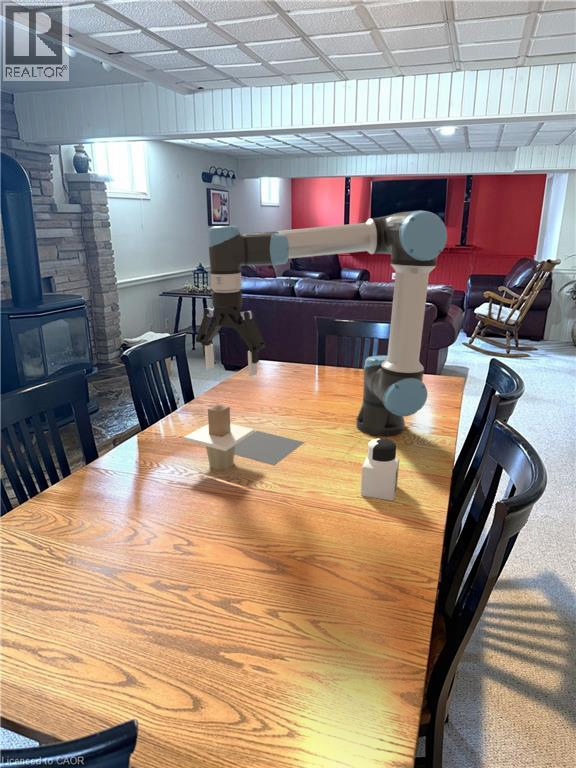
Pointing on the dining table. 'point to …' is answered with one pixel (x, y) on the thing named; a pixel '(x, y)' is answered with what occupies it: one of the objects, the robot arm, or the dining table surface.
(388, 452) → the container
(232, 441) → the lid
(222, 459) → the flower pot
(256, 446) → the mat
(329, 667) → the dining table surface
